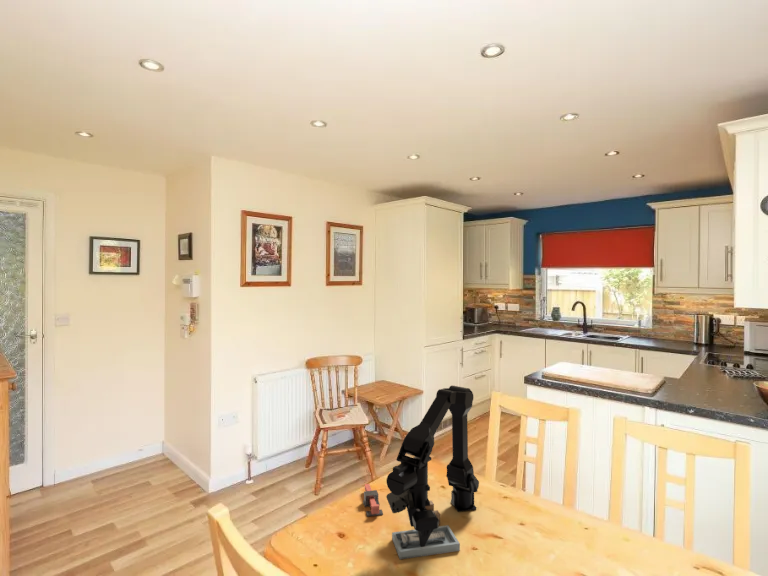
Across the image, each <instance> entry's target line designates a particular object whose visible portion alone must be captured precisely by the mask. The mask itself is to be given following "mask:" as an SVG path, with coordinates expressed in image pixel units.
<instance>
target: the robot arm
mask: <svg viewBox="0 0 768 576" xmlns="http://www.w3.org/2000/svg"><path fill="white" fill-rule="evenodd" d="M435 395H436V396H435V398H434V399H433V401H432V403H431V405H430V406H429V408H428V409H427V411H426V413H425V414H424V416H423V418H422V419H421V421H420V423H419V424H417V425H416V426H414V427H412V428H411V429H410V430H409V431H408V433H407V434H406V435H405V437H404V439H402V440H403V441H402V443H401V446H400V448H399V451H398V454H397V457H396V461H397V462H400V464H398V465H395V466H393V467H392V471H391V472H390V473H388V474H387V477H386V485H387V488H388V490H389V491H390V492H389V493H387V494H386V496H385V497H386V500H387V502H388V505H389V507H390V510H391V512H392V514H397V513H401V512H403V511H405V510H406V511H407V516H408V519H409V524H410V527H412V528H414V530H416V531H418V536H419V542H420V546H421V547H424V546H425V544H426V542H427V541H428V539H429V537H430V535H431V533H432V531H433V530H434V529H437V528H438V527H439V526H440V524H439V520H438V518H437V516H436V515H435V513H434V512H433V511H432V510H427V509H426V508H425V506H430V501H431V500H429V497H428V496H429V495H428V494H429V492H430V491H431V486H430V485H429V483H428V481H429V480H428V479H429V476H428V475H429V473H428V470H429V468H428V467H429V463H428V462H430V461H432V457H431V454H432V452H433V449H434V446H435V434H436V432H437V431H438V429H439V427H440V425H441V423H442V422H443V420H444V418H445V416H446V414H447V413H448V411H449V412H450V413H451V429H452V430H451V434H452V435H451V436H452V437H451V438H452V448H451V449H452V459H451V460H450V462H449V463H448V464H447V465H446V475H445V476H446V479H447V484H448V486H450V487H452V490H451V492H450V493H451V500H450V502H451V504H452V506H453V507H454V509H456V511H457V512H458V513H459V512H468V511H476V510H477V507H476V505H475V493H477V492H478V489H479V488H480V487H479V485H480V481H479V480H478V478H477V476H476V475H475V472H474V466H473V464H472V462H471V461H470V459H469V449H468V446H469V445H468V444H469V442H468V441H469V440H468V438H469V437H468V432H469V431H468V414H469V412H470V410H471V409H472V407H473V401H474V393H473V391H472V390H471V388H467V387H463V386H458V385H450V386H449V387H448V388H447V387H446V388H445V387H444V388H440V389H438V390H437V391H436V394H435ZM406 454H408V455H406ZM412 456H413V457H412Z"/></svg>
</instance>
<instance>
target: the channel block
mask: <svg viewBox="0 0 768 576" xmlns="http://www.w3.org/2000/svg"><path fill="white" fill-rule="evenodd" d="M429 501H430V506H425V508H426V509H427V510H432V511H433V512H434V513H435V515H436V516H437V518H438V520H439V525H441V514H440V512H439V510H437V509H436V510H435V504H434V502H433V500H429Z"/></svg>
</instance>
